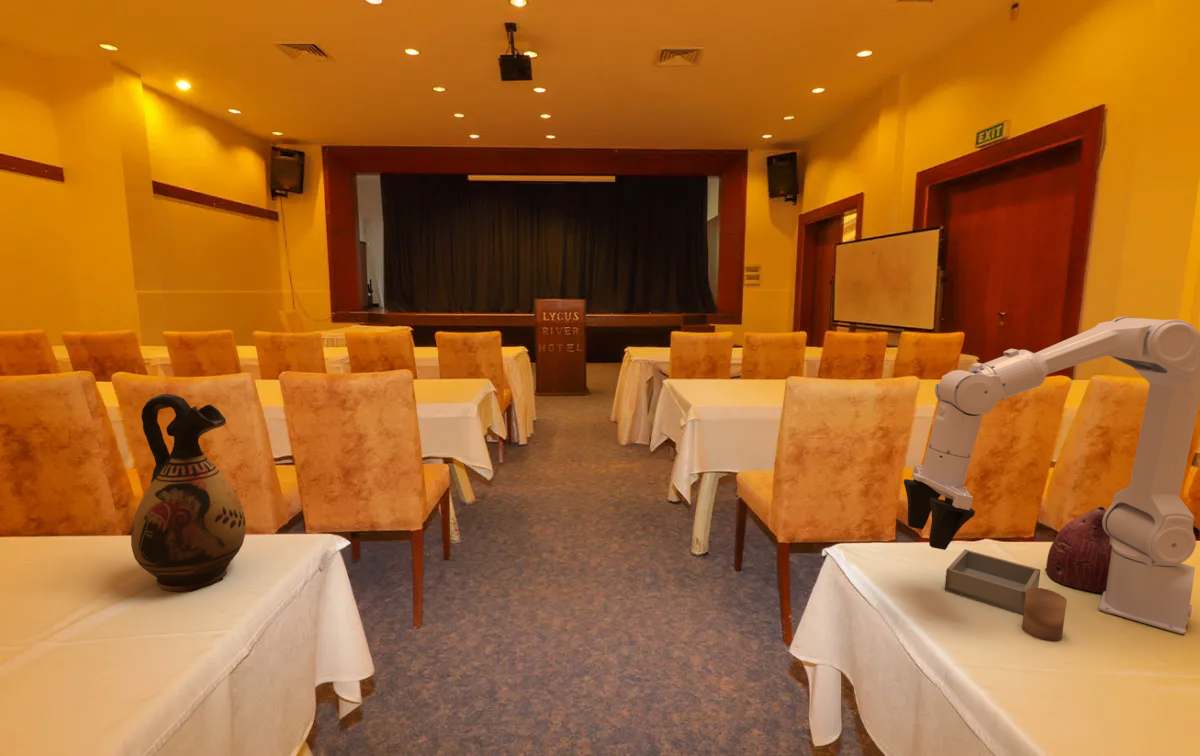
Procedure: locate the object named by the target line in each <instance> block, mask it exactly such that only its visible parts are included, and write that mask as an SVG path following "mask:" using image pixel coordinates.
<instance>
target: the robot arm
mask: <svg viewBox="0 0 1200 756" xmlns="http://www.w3.org/2000/svg"><path fill="white" fill-rule="evenodd" d="M1102 357H1110V358H1112V359H1114V360H1116V361H1118V362H1121V363H1123V364H1126V365H1127V366H1129V367H1131V368H1133V369H1134V370H1135V371H1136V372H1137V373H1138V374H1139V375H1140V376H1142V378H1144V380H1145V381H1147V382H1148V384H1149V387H1148V392H1147V395H1146V396H1147V397H1146V403H1145V406H1144V412H1143V417H1142V421H1141V427H1140V430H1139V431H1140V432H1139V436H1138V437H1139V438H1138V441H1137V446H1136V451H1135V455H1134V461H1133V464H1132V465H1133V467H1132V471H1131V476H1130V481H1129V485H1128V486H1127V487H1126V488H1123V489H1121V490H1119V491H1117V492H1115V493H1114V494H1113V499H1112V502H1111V504H1110V506H1109V507H1108V509H1106V512H1105V514H1104V516H1103V520H1102V525H1103V529H1104V531H1105V532H1106V534H1107V535H1108V536H1110V544H1111V545H1112V551H1111V558H1110V565H1109V572H1108V579H1107V587H1106V591H1104V592H1103V593H1102V596H1101V598H1100V601H1099V604H1098V610H1099V611H1101V612H1104V613H1109V614H1111V615H1115V616H1119V617H1123V618H1125V619H1128V620H1132V621H1136V622H1138V623H1143V624H1146V625H1149V626H1153V627H1156V628H1159V629H1162V630H1166V631H1170V632H1173V633H1178V634H1181V635H1185V634H1186V629H1187V625H1188V618H1189V619H1190V618H1191V615H1192V611H1193V609H1192V608H1193V605H1192V604H1191V599H1192V598H1191V597H1192V593H1193V587H1194V586H1193V585H1194V581H1195V567H1194V566H1191V565H1188V564H1185V563H1183V562H1186V561H1187V560H1188V559H1189V558H1190V557H1191V556H1192V555H1193V553H1194V551H1195V549H1196V546H1197V545H1196V544H1197V539H1196V535H1195V533H1194V523H1195V522H1194V521H1195V516H1194V515H1193V513H1192V512H1191V511H1190V509H1189V508H1188V507H1187V505H1186V504H1185V503H1184V502H1183V500H1182V499H1181V497H1180V495H1181V491H1182V486H1183V481H1184V476H1185V470H1186V467H1187V464H1188V463H1187V462H1188V458H1189V455H1190V449H1191V445H1192V438H1193V434H1194V430H1195V425H1196V422H1197V416H1198V412H1199V407H1200V332H1199V330H1197V329H1196V328H1195V327H1194V325H1192V324H1191V323H1189V321H1188V322H1187V321H1186V320H1182V319H1155V318H1141V317H1140V318H1138V317H1133V316H1120V317H1116V318H1114V319H1112V320H1111V321H1104V322H1099V323H1098V324H1097V325H1095V326H1094V327H1092V328H1090V329H1088V330H1086V331H1083V332H1080V333H1079V334H1076V335H1074V336H1072V337H1069V338H1067V339H1064V340H1062V341H1060V342H1058V343H1056V344H1053V345H1050V346H1049V347H1046V348H1043V349H1042V350H1039V351H1037V352H1032V351H1030V350H1027V349H1015V348H1009V349H1007V350H1004V351H1003V356H1000V357H997V358H995V359H992V360H990V361H986V362H984V363H982V362H981V363H980V362H976V363H973V364H971V368H970V369H969V370H968V371H966V370H962V369H956V370H951V371H949V372H948V373H946V374H944V376H943V378H941V379H940V381H939V383H936V384H935V386H934V394H935V396H936V399H937V401H938V406H937V411H936V414H935V415H936V416H935V418H934V423H933V426H932V429H931V434H930V437H929V440H928V444H927V449H926V453H925V456H924V461H923V464H922V465H918V464H914V466H913V470H912V473H911V478H912V479H904V480H903V485H904V488H905V489H904V490H905V493H906V499H907V526H908V527H909V528H913V529H918V530H924V528H925V527H926V525H927V522H928V519H929V517H930V516H931V526H930V530H929V531H930V532H929V540H928V543H929V544H928V545H929V547H931V548H933V549H939V550H942V551H943V550H944V551H946V550H947V549H948V547H949V546H950V544H951V542H952V540H953V539H954V538H955V535H956V534H957V533H958V531H959V530H960V529H961V528H962V526H963V525H964V524H966V523H967V522H968V521H970V520H971V519H972V518H973V517H974V516H975V514H976V510H975V509H973V508H972V502H973V499H974V497H973V496H972V495H971V494H970V493H969V492H968V489H967V487H966V486H965V481H966V478H967V474H968V470H969V467H970V464H971V460H972V455H973V452H974V450H975V449H974V448H975V445H976V442H977V438H978V434H979V431H980V427H981V424H982V420H983V417H984V414H988V413H990V412H991V411H992V410H993V409H994V408H995V407H996V405H997V404H998V402H1000V401H1003V400H1006V399H1008V398H1010V397H1011V398H1012V397H1013V396H1016V395H1019V394H1021V393H1024V392H1027V391H1030V390H1033V389H1036V388H1038V387H1041V386H1042V385H1043V384H1044V382H1045V380H1046V378H1047V376H1048V375H1049V374H1052V373H1055V372H1058V371H1061V370H1064V369H1068V368H1071V367H1075V366H1077V365H1081V364H1084V363H1087V362H1090V361H1093V360H1096V359H1097V360H1098V358H1102ZM941 496H942V497H944V499H940V498H941ZM930 514H931V515H930Z"/></svg>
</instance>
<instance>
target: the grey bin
mask: <svg viewBox="0 0 1200 756" xmlns="http://www.w3.org/2000/svg"><path fill="white" fill-rule="evenodd" d="M1040 576H1041V569H1040V568H1036V567H1032V566H1030V565H1029V566H1028V565H1025V564H1021V563H1018V562H1013V561H1010V560H1006V559H1002V558H999V557H995V556H992V555H988V554H984V553H980V552H977V551H973V550H969V549H964V550H962V552H961V553H960V554H959V555H958V556H957V557H956V558H955V559H954V561H952V563H951V564H950V565H949V566H948V567H947V568H946V571H945V580H944V581H945V582H944V591H947V592H950V593H953V594H956V595H960V596H962V597H965V598H968V599H973V600H976V601H979V602H981V603H985V604H987V605H991V606H994V607H998V608H1001V609H1003V610H1007V611H1011V612H1013V613H1015V614H1016V613H1017V614H1019V615H1022V616H1023V613H1024V605H1025V597H1026V590H1027V589H1029V588H1039V586H1040V585H1039V584H1040Z"/></svg>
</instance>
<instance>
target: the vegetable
mask: <svg viewBox="0 0 1200 756" xmlns="http://www.w3.org/2000/svg"><path fill="white" fill-rule="evenodd" d="M1106 511H1107V509H1105V507H1104V506H1103V505H1100V506H1099V507H1095V508H1094V507H1093V508H1092V509H1090V510H1089V511H1087V512H1084V513H1083V514H1082V515H1080V516H1078V517H1076V518H1075V517H1074V518H1073V519H1071V520H1070V521H1068V522H1067V523H1066V524H1064V526H1063V527H1062V528H1060V530H1059V531H1058V532H1057V534H1056V537H1055V538H1054V540H1053V542H1052V543H1051V546H1050V548H1049V551H1048V553H1047V559H1046V565H1045V566H1046V568H1044V571H1046V574H1047V576H1048V578H1050V579H1051V580H1052V581H1055V582H1056V583H1059V584H1061V585H1063V586H1067V587H1071V588H1075V589H1079V590H1080V589H1081V590H1085V591H1089V592H1094V593H1102V594H1103V592H1104V591H1106V587H1107V579H1108V572H1109V565H1110V558H1111V551H1112V545H1111V544H1110V536H1108V535H1107V534H1106V532H1105V531H1104V529H1103V525H1102V520H1103V516H1104V514H1105V512H1106Z"/></svg>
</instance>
